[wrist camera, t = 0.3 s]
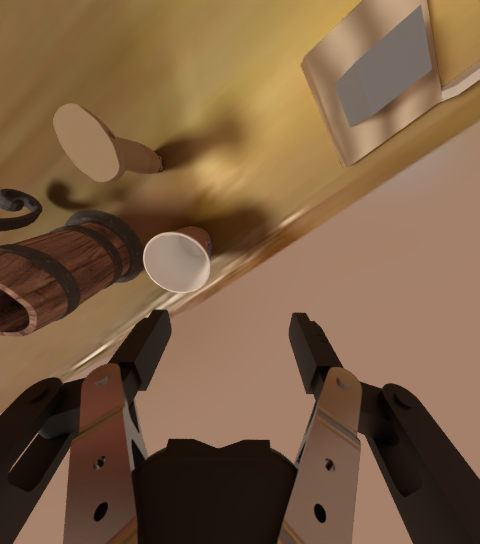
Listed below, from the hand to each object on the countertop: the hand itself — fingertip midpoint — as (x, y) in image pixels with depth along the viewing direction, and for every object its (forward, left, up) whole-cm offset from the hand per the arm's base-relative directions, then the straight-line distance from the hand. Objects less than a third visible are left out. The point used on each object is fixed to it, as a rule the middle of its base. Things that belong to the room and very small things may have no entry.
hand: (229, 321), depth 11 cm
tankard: (-1, -31, -28) cm, 42 cm away
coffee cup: (+2, -9, -28) cm, 29 cm away
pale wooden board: (-19, +22, -27) cm, 40 cm away
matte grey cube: (-18, +21, -25) cm, 37 cm away
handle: (-13, -13, -28) cm, 33 cm away
